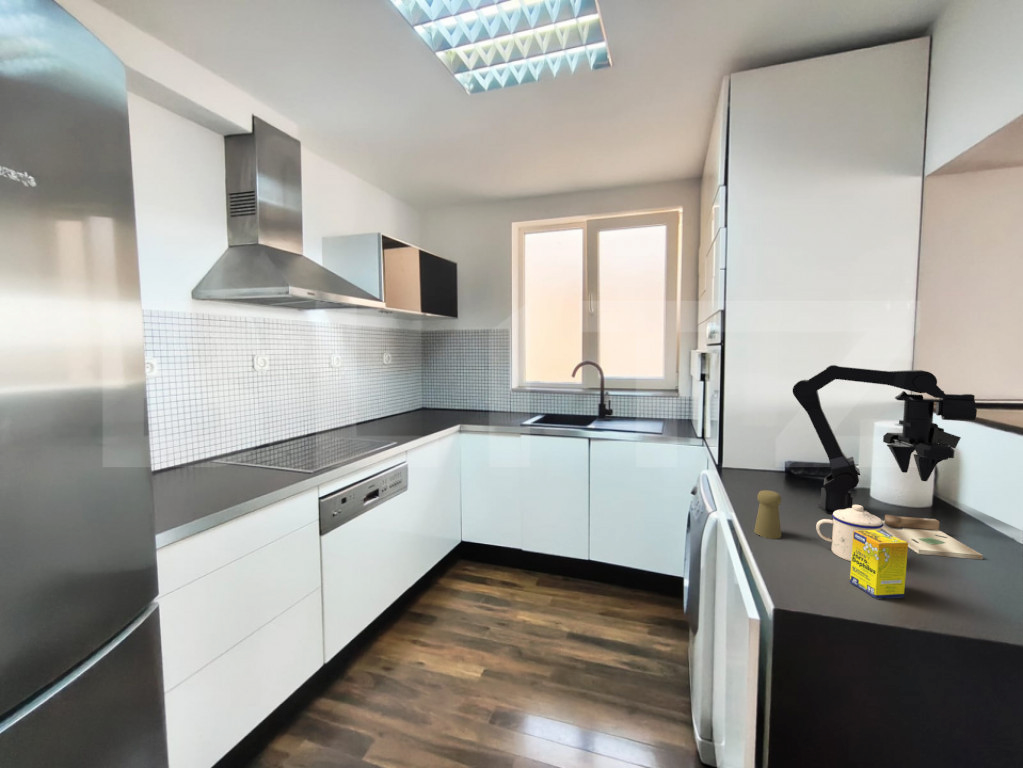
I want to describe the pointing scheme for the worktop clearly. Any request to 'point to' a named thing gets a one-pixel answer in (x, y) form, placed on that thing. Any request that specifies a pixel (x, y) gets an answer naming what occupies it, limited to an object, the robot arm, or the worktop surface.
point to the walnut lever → (911, 522)
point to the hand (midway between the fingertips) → (913, 476)
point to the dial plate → (932, 542)
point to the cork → (768, 515)
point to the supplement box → (878, 563)
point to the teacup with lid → (848, 528)
